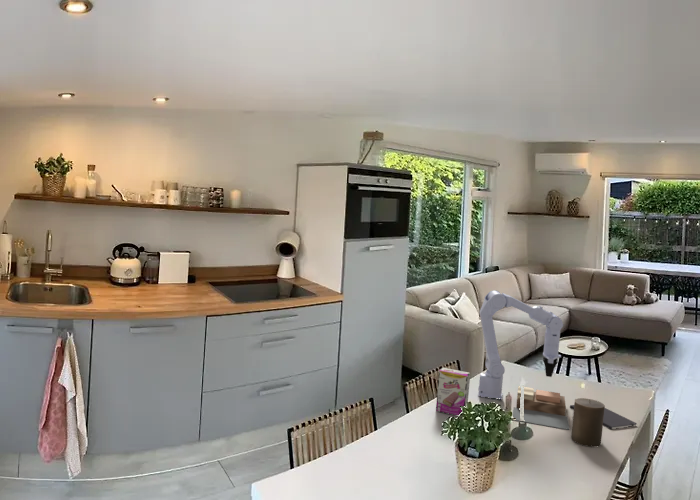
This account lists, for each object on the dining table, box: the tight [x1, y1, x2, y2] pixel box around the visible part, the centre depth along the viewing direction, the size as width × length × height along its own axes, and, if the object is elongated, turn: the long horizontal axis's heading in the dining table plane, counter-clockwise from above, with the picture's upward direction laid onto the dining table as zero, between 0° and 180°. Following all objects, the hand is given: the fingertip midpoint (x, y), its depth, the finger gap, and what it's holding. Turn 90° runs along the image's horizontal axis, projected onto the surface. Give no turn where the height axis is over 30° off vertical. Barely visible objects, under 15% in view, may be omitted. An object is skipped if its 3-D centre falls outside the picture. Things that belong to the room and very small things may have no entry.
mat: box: [512, 406, 570, 431], centre depth 207 cm, size 20×13×1 cm, turn 71°
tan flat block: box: [515, 391, 567, 416], centre depth 218 cm, size 18×12×4 cm, turn 71°
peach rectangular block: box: [535, 389, 561, 403], centre depth 217 cm, size 9×6×2 cm, turn 71°
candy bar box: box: [435, 367, 471, 416], centre depth 207 cm, size 11×5×16 cm, turn 65°
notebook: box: [569, 404, 637, 430], centre depth 212 cm, size 13×2×21 cm
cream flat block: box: [516, 385, 535, 400], centre depth 219 cm, size 9×6×2 cm, turn 161°
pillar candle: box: [570, 397, 606, 448], centre depth 188 cm, size 10×10×15 cm
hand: (548, 375), depth 226 cm, fingers closed
